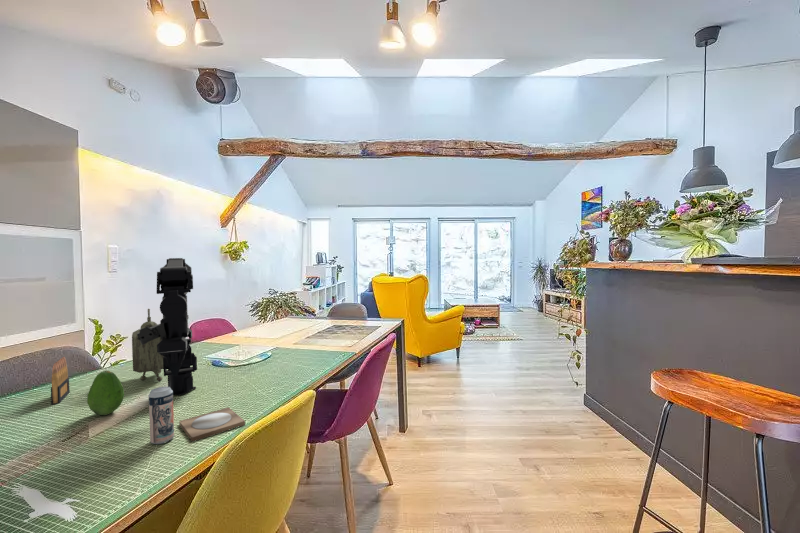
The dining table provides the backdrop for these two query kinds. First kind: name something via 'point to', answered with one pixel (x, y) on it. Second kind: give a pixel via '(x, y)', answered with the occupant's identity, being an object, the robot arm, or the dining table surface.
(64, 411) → the dining table surface
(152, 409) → the beer can
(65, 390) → the ammunition clip
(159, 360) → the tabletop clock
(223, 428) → the plate
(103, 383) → the avocado
